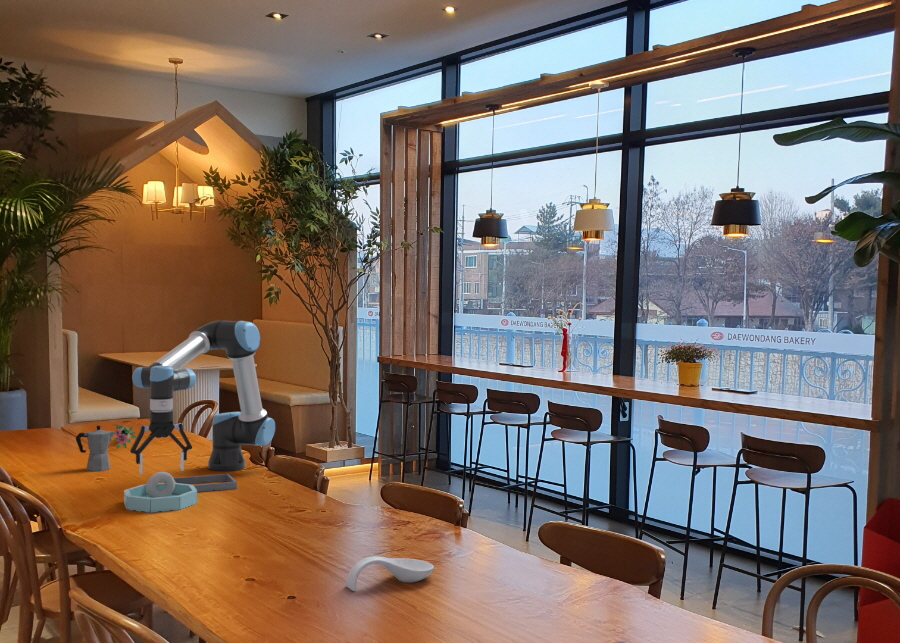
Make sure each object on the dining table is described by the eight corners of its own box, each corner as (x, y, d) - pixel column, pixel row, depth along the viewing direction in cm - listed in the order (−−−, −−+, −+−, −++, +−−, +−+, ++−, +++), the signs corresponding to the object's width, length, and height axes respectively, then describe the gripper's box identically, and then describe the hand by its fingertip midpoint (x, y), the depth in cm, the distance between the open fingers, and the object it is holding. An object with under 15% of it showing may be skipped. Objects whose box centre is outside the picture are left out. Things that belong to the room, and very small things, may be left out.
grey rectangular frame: (228, 480, 326) (228, 473, 326) (236, 488, 312) (236, 482, 312) (170, 484, 316) (170, 478, 316) (176, 493, 302) (177, 486, 302)
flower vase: (131, 454, 410) (131, 451, 378) (106, 448, 406) (104, 444, 374) (139, 431, 413) (140, 426, 381) (114, 425, 410) (113, 419, 378)
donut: (147, 503, 284) (148, 474, 283) (144, 501, 286) (144, 472, 286) (176, 499, 290) (176, 470, 290) (172, 497, 293) (172, 469, 292)
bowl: (189, 493, 304) (189, 480, 303) (200, 507, 283) (200, 494, 283) (122, 498, 293) (122, 486, 293) (128, 514, 273) (128, 501, 273)
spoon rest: (418, 568, 225) (419, 542, 225) (442, 581, 215) (442, 554, 215) (339, 583, 212) (339, 556, 212) (360, 598, 203) (360, 569, 202)
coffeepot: (111, 465, 349) (111, 422, 348) (118, 469, 342) (118, 425, 341) (72, 469, 339) (72, 425, 339) (78, 473, 332) (79, 428, 331)
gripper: (124, 414, 278) (124, 476, 279) (200, 410, 289) (200, 470, 290) (122, 410, 285) (122, 472, 286) (196, 407, 296) (196, 466, 297)
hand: (161, 471), depth 288 cm, fingers open, 13 cm apart
